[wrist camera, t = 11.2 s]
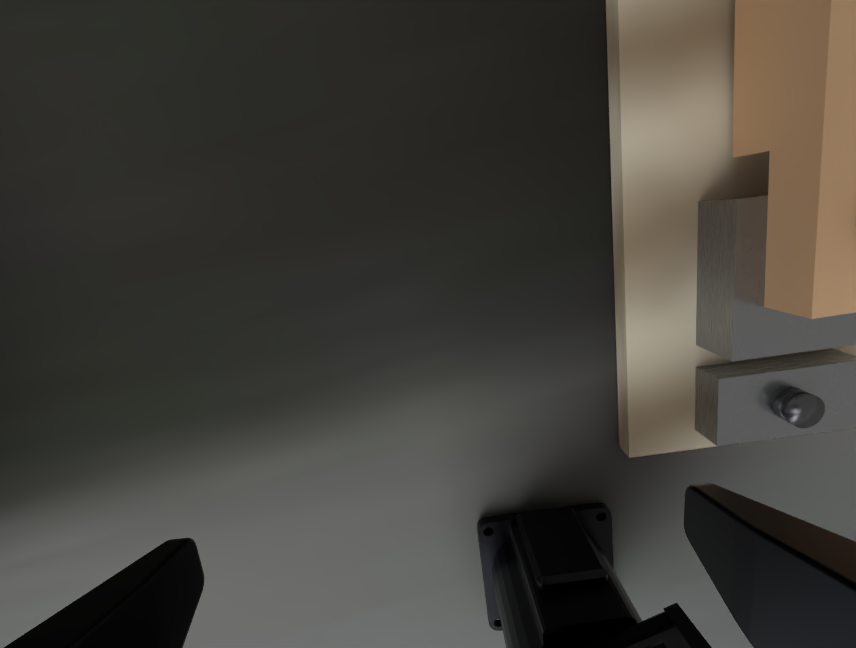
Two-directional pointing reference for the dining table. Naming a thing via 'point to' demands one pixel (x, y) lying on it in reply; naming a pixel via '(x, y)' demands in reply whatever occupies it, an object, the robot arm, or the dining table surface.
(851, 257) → the master link
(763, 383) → the lower chain end
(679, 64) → the board
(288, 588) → the dining table surface
